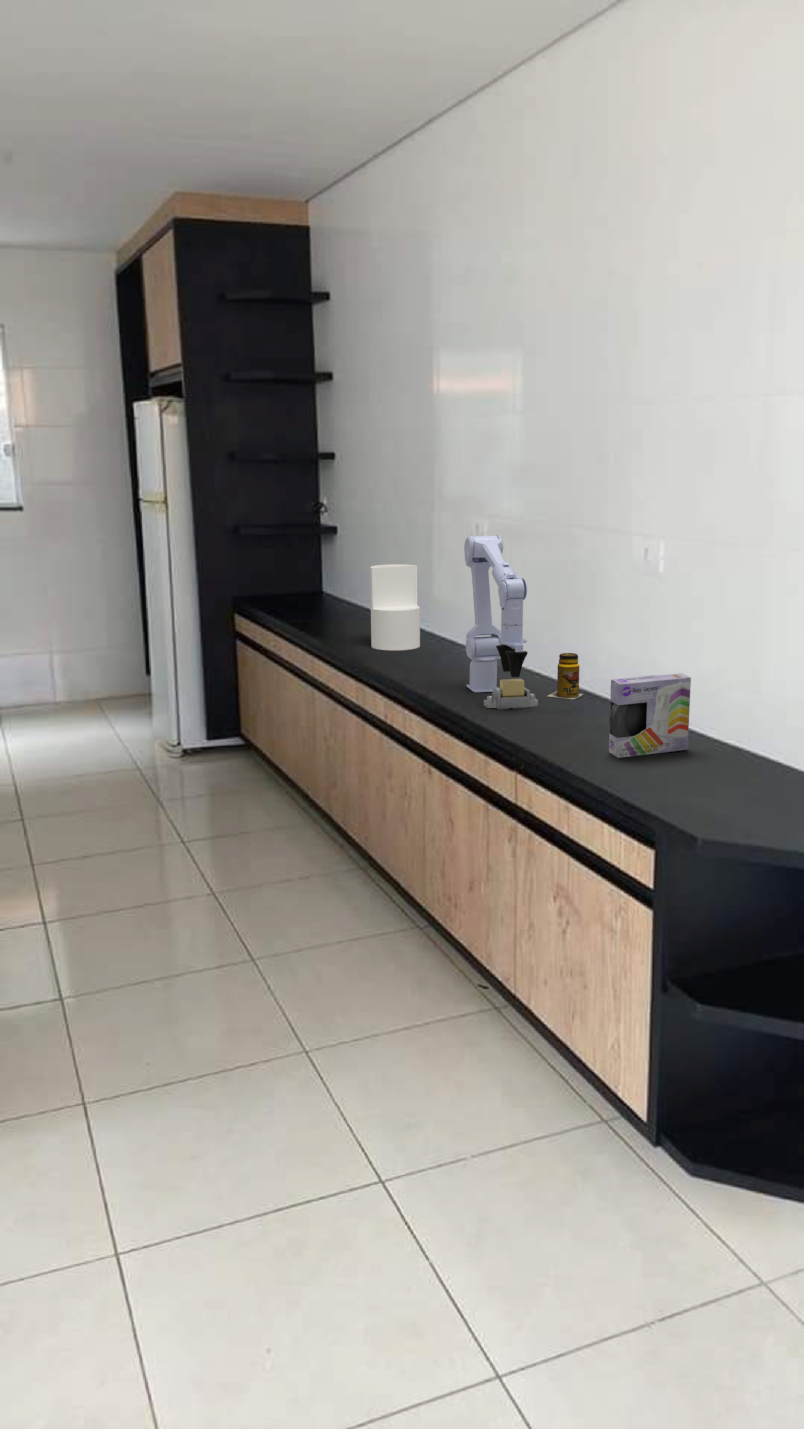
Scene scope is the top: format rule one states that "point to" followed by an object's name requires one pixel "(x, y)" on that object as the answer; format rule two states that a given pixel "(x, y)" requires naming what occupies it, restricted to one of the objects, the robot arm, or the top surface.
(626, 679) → the cake pan box
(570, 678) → the condiment
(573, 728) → the top surface
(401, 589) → the cylinder
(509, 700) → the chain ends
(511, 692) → the tan block
